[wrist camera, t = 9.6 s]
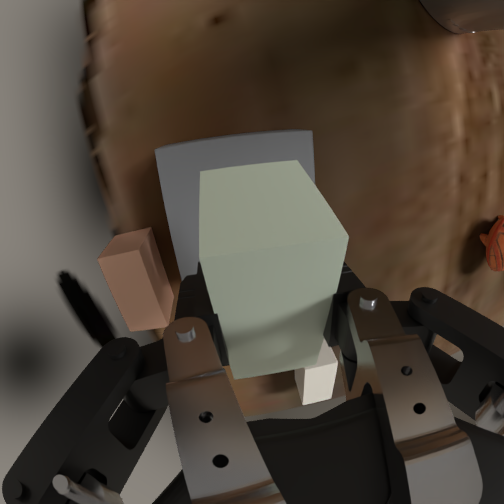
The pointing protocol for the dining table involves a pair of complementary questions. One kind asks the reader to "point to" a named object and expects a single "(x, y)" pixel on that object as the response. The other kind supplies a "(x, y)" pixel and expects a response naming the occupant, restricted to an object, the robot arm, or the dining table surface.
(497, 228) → the pot
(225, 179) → the sage brick
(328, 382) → the cream brick
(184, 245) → the charcoal block
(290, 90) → the dining table surface
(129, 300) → the terracotta brick
